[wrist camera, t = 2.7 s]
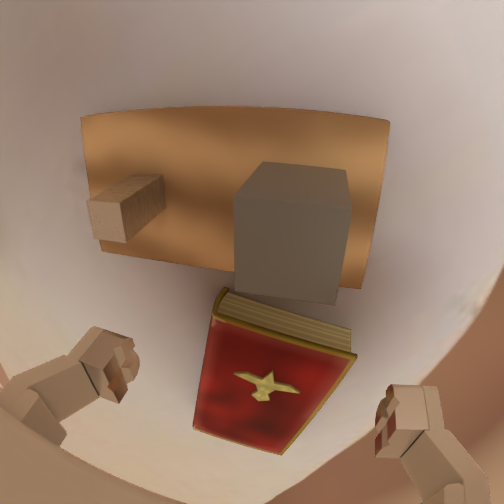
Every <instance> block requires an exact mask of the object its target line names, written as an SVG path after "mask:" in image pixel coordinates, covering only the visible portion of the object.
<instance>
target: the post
mask: <svg viewBox="0 0 504 504" xmlns="http://www.w3.org/2000/svg"><path fill="white" fill-rule="evenodd" d="M87 205H88V210H89V215H90V220H91V225H92V230H93V235H94V239H100V240H107V241H114V242H121V243H127V242H128V241H129V240H130V239H132V238H133V237H134V236H135V235H136V234H137V233H138V232H139V231H140V230H142V229H143V228H144V227H145V226H146V225H147V224H148V223H150V222H151V221H152V220H153V219H154V218H155V217H157V216H158V215H159V214H160V213H161V212H162V211H164V210H165V209H166V202H165V192H164V180H163V175H160V174H132V175H130V176H128V177H126V178H124V179H123V180H121V181H119V182H117V183H116V184H114V185H112V186H111V187H109V188H107V189H106V190H104V191H102V192H100V193H99V194H97V195H96V196H94V197H92V198H91V199H89V200H87Z"/></svg>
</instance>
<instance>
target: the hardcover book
mask: <svg viewBox="0 0 504 504" xmlns="http://www.w3.org/2000/svg"><path fill="white" fill-rule="evenodd" d="M228 290H229V288H226V287H224V288H223V289H222V290H221V291H220V293H219V294H218V296H217V298H216V300H215V302H214V306H213V311H212V316H211V322H210V327H209V332H208V338H207V343H206V349H205V355H204V360H203V366H202V372H201V378H200V383H199V389H198V395H197V401H196V407H195V413H194V419H193V429H195V430H198V431H200V432H203V433H206V434H209V435H212V436H215V437H218V438H221V439H224V440H227V441H231V442H234V443H237V444H240V445H244V446H247V447H251V448H254V449H258V450H262V451H266V452H270V453H274V454H278V455H282V454H283V453H284V452H285V451H286V450H287V449H288V448H289V446H290V445H291V444H292V443H293V442H294V441H295V439H296V438H297V437H298V436H299V435H300V433H301V432H302V431H303V430H304V429H305V427H306V426H307V425H308V424H309V422H310V421H311V420H312V419H313V417H314V416H315V415H316V414H317V412H318V411H319V410H320V409H321V407H322V406H323V405H324V403H325V402H326V401H327V399H328V398H329V397H330V395H331V394H332V393H333V391H334V390H335V389H336V387H337V386H338V385H339V383H340V382H341V380H342V379H343V378H344V376H345V375H346V373H347V372H348V371H349V369H350V368H351V366H352V365H353V363H354V362H355V360H356V359H357V354H354V353H351V330H350V329H346V328H343V327H339V326H336V325H333V324H329V323H326V322H322V321H319V320H316V319H312V318H309V317H306V316H302V315H299V314H296V313H292V312H289V311H286V310H283V309H279V308H276V307H273V306H270V305H267V304H263V303H260V302H257V301H254V300H251V299H248V298H245V297H242V296H239V295H235V294H232V293H229V292H228Z"/></svg>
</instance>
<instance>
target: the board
mask: <svg viewBox="0 0 504 504" xmlns="http://www.w3.org/2000/svg"><path fill="white" fill-rule="evenodd" d="M81 127H82V137H83V146H84V154H85V162H86V169H87V176H88V182H89V189H90V195H91V198H92V197H94V196H96V195H97V194H99V193H100V192H102V191H104V190H106V189H107V188H109V187H111V186H112V185H114V184H116V183H117V182H119V181H121V180H123V179H124V178H126V177H128V176H130V175H132V174H160V175H163V180H164V192H165V202H166V209H165V210H164V211H162V212H161V213H160V214H159V215H158V216H157V217H155V218H154V219H153V220H152V221H151V222H150V223H148V224H147V225H146V226H145V227H144V228H143V229H142V230H140V231H139V232H138V233H137V234H136V235H135V236H134V237H133V238H132V239H130V240H129V241H128V242H127V243H121V242H114V241H107V240H100V239H99V241H100V245H101V250H102V251H103V252H109V253H115V254H121V255H127V256H133V257H139V258H146V259H152V260H158V261H164V262H171V263H177V264H184V265H190V266H197V267H203V268H210V269H217V270H223V271H230V272H234V213H233V196H234V195H235V194H236V192H237V191H238V190H239V189H240V188H241V186H242V185H243V184H244V183H245V182H246V180H247V179H248V178H249V177H250V176H251V175H252V173H253V172H254V171H255V170H256V169H257V167H258V166H259V165H260V164H261V163H262V162H263V161H264V162H277V163H288V164H298V165H308V166H317V167H326V168H334V169H342V170H346V174H347V180H348V186H349V192H350V198H351V205H352V214H351V220H350V227H349V233H348V239H347V245H346V250H345V256H344V261H343V267H342V272H341V277H340V282H339V287H347V288H355V289H361V286H362V281H363V277H364V273H365V269H366V264H367V260H368V255H369V251H370V246H371V241H372V236H373V231H374V226H375V221H376V216H377V210H378V205H379V199H380V193H381V187H382V180H383V174H384V167H385V160H386V152H387V144H388V136H389V127H390V122H389V121H387V120H384V119H378V118H371V117H365V116H358V115H350V114H343V113H334V112H325V111H315V110H304V109H291V108H274V107H250V106H193V107H169V108H153V109H140V110H129V111H119V112H110V113H102V114H94V115H88V116H85V117H81Z"/></svg>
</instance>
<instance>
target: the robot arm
mask: <svg viewBox="0 0 504 504" xmlns="http://www.w3.org/2000/svg"><path fill="white" fill-rule="evenodd" d="M134 347H135V344H134V342H133V339H132V338H129V337H126V336H123V335H120V334H117V333H114V332H111V331H108V330H105V329H102V328H99V327H96V326H94V327H92V328H90V329H89V330H88V332H87V333H86V334H85V335H84V336H83V337H82V339H81V340H80V341H79V342H78V343H77V345H76V346H75V347H74V348H73V349H72V351H71V352H70V353H69V354H68V355H67V356H65V355H63V356H60V357H58V358H56V359H53V360H51V361H49V362H46V363H44V364H42V365H39V366H37V367H35V368H32V369H30V370H27V371H25V372H23V373H20V374H18V375H16V376H13V377H12V378H11V380H10V381H9V382H8V383H7V384H6V386H5V387H4V388H3V389H2V391H1V392H0V504H186V503H183V502H180V501H177V500H174V499H171V498H168V497H165V496H162V495H160V494H157V493H154V492H152V491H149V490H147V489H144V488H142V487H139V486H137V485H134V484H132V483H129V482H127V481H125V480H123V479H120V478H118V477H116V476H114V475H112V474H110V473H107V472H105V471H103V470H101V469H99V468H97V467H95V466H93V465H91V464H89V463H87V462H86V461H84V460H82V459H80V458H78V457H76V456H74V455H73V454H71V453H69V452H67V451H66V450H64V449H62V448H61V447H60V445H61V443H62V442H63V440H64V438H65V437H66V435H67V433H66V430H65V429H64V428H63V427H62V425H61V424H60V423H59V422H60V421H62V420H64V419H65V418H67V417H69V416H70V415H72V414H73V413H75V412H77V411H78V410H80V409H82V408H83V407H85V406H86V405H88V404H90V403H91V402H93V401H94V400H96V399H98V398H99V396H100V397H102V398H105V399H107V400H110V401H113V402H115V403H118V404H119V403H120V402H121V400H122V398H123V397H124V395H125V394H126V392H127V390H128V388H127V383H129V382H131V381H133V380H134V379H135V377H136V376H137V374H138V370H139V367H140V362H139V357H138V355H137V353H136V352H135V351H134V350H133V348H134ZM375 428H376V429H377V430H378V432H379V434H378V436H377V437H376V439H375V457H378V458H400V461H401V463H402V465H403V467H404V468H405V470H406V472H407V474H408V475H409V477H410V479H411V481H412V482H413V484H414V486H415V488H416V489H417V491H418V493H419V495H420V496H421V498H422V500H423V502H422V503H421V504H491V502H490V491H489V481H488V477H487V476H486V474H485V473H484V472H483V471H482V469H481V468H480V467H479V466H478V465H477V463H476V462H475V461H474V460H473V459H472V457H471V456H470V455H469V454H468V452H467V451H466V450H465V449H464V448H463V446H462V445H461V444H460V443H459V442H458V440H457V439H456V438H455V437H454V436H453V434H452V433H451V432H450V431H449V430H445V429H444V422H443V415H442V410H441V404H440V399H439V393H438V389H437V387H436V386H420V385H397V384H391V385H390V386H388V388H387V390H386V397H385V398H384V399H382V400H381V401H380V403H379V405H378V409H377V412H376V419H375Z"/></svg>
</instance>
